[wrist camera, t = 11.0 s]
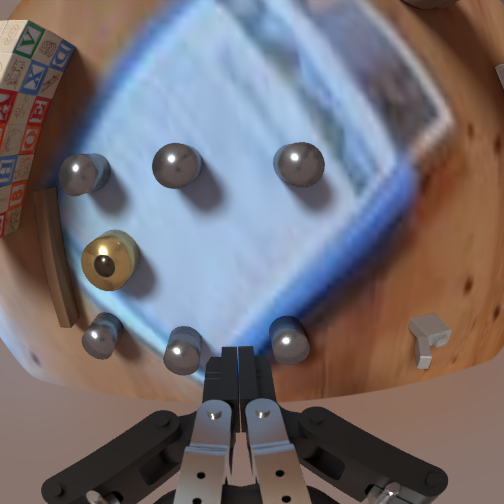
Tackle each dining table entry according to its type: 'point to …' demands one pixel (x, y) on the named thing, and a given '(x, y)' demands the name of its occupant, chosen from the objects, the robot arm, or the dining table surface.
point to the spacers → (176, 176)
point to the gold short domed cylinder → (110, 260)
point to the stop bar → (55, 255)
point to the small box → (500, 73)
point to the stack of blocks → (24, 105)
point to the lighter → (428, 337)
